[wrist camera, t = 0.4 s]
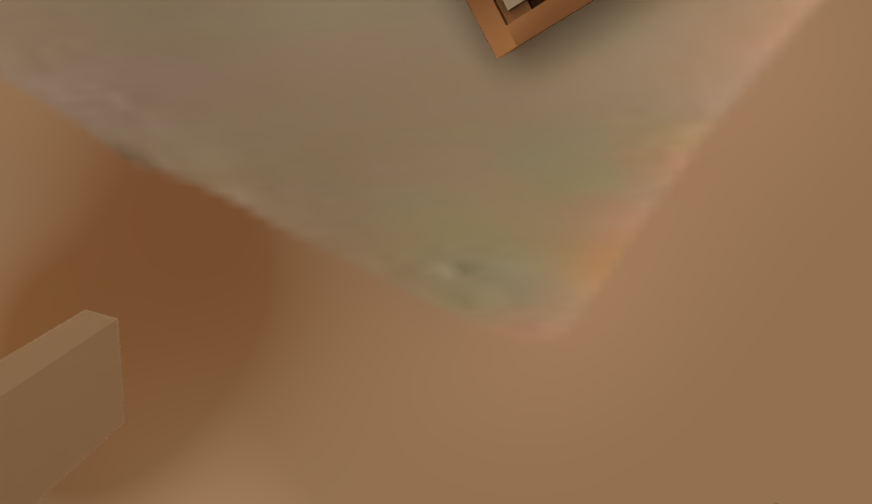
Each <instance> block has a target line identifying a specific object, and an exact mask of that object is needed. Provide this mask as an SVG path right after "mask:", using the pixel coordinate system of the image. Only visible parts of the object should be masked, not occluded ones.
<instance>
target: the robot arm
mask: <svg viewBox="0 0 872 504" xmlns="http://www.w3.org/2000/svg"><path fill="white" fill-rule="evenodd" d="M121 368H122V367H121V352H120V337H119V323H118V318H114V317H111V316H107V315H104V314H100V313H97V312H93V311H90V310H86V309H85V310H84V311H82V312H80V313H78V314H77V315H75V316H73V317H71V318H70V319H68V320H66V321H65V322H63V323H61V324H60V325H58V326H56V327H55V328H53V329H51V330H50V331H48V332H46V333H45V334H43V335H41V336H40V337H38V338H36V339H35V340H33V341H31V342H30V343H28V344H26V345H24V346H23V347H21V348H20V349H18V350H16V351H15V352H13V353H11V354H9V355H8V356H6V357H4V358H3V359H1V360H0V504H36V502H38V501H39V500H40V499H41V498H42V497H43V496H44V495H45V494H47V493H48V492H49V491H50V490H51V489H52V488H53V487H54V486H55V485H56V484H58V483H59V482H60V481H61V480H62V479H63V478H64V477H65V476H66V475H67V474H68V473H70V472H71V471H72V470H73V469H74V468H75V467H76V466H77V465H78V464H79V463H81V462H82V461H83V460H84V459H85V458H86V457H87V456H88V455H89V454H90V453H92V452H93V451H94V450H95V449H96V448H97V447H98V446H99V445H100V444H101V443H102V442H104V441H105V440H106V439H107V438H108V437H109V436H110V435H111V434H112V433H113V432H115V431H116V430H117V429H118V428H119V427H120V426H121V425H122V424H123V423H124V422H125V412H124V398H123V382H122V369H121ZM774 504H777V503H774Z"/></svg>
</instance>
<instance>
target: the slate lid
mask: <svg viewBox="0 0 872 504" xmlns="http://www.w3.org/2000/svg"><path fill="white" fill-rule="evenodd" d="M526 1H527V0H503V2H504V4H505V6H506V8H507V10H508V11H512V10H513V9H515V8H516V7H518V6H519V5H521V4H523V3H524V2H526Z"/></svg>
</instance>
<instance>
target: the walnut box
mask: <svg viewBox="0 0 872 504" xmlns="http://www.w3.org/2000/svg"><path fill="white" fill-rule="evenodd" d="M466 1H467V3H468V5H469V7H470V9H471V11H472V12H473V14H474V16H475V18H476V20H477V22H478V24H479V26H480V28H481V29H482V31H483V33H484V35H485V37H486V39H487V41H488V43H489V45H490V46H491V48H492V50H493V52H494V54H495V56H496V58H497V59H498V58H499V57H501V56H503V55H505V54H506V53H508V52H510V51H512V50H513V49H515V48H517V47H518V46H520V45H521V44H523V43H525V42H526V41H528V40H530V39H531V38H533V37H535V36H536V35H538V34H539V33H541V32H543V31H544V30H546V29H548V28H549V27H551V26H552V25H554V24H556V23H557V22H559V21H561V20H562V19H564V18H566V17H567V16H569V15H570V14H572V13H574V12H575V11H577V10H579V9H580V8H582V7H583V6H585V5H587V4H588V3H590V2H592V1H593V0H527V1H526V2H524V3H523V4H521V5H519V6H518V7H516V8H515V9H513V10H512V11H508V10H507V8H506V6H505V4H504V2H503V0H466Z"/></svg>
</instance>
